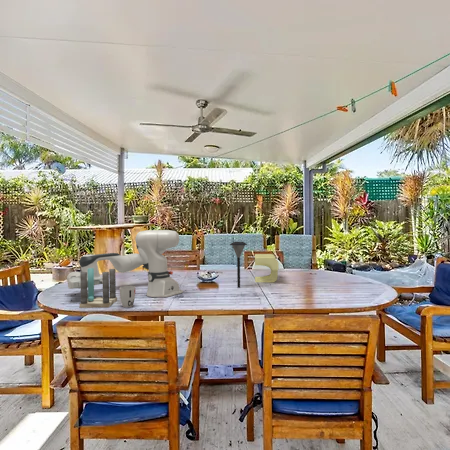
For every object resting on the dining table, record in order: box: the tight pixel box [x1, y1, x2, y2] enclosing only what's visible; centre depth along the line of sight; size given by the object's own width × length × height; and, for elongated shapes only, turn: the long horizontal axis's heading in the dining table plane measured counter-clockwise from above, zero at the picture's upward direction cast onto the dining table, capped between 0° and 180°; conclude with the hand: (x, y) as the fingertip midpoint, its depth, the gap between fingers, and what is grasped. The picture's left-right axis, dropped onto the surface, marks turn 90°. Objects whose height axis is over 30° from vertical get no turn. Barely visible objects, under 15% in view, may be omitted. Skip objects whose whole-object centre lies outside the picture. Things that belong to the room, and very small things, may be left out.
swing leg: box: [87, 268, 95, 301], centre depth 189 cm, size 11×3×16 cm, turn 20°
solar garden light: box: [229, 241, 248, 289], centre depth 228 cm, size 12×12×30 cm
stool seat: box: [78, 268, 118, 309], centre depth 188 cm, size 16×16×18 cm
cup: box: [119, 285, 136, 309], centre depth 182 cm, size 8×8×10 cm
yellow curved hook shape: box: [254, 253, 280, 283], centre depth 253 cm, size 30×16×18 cm, turn 175°
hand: (93, 283), depth 193 cm, fingers open, 8 cm apart
